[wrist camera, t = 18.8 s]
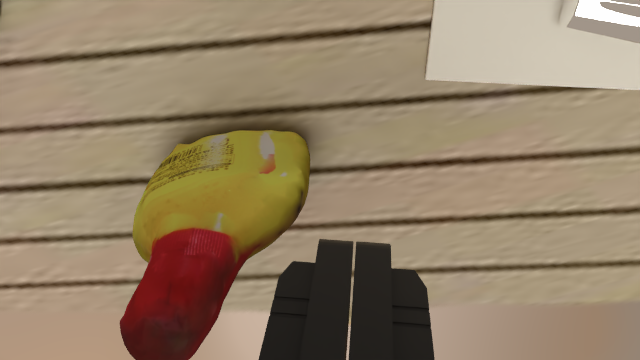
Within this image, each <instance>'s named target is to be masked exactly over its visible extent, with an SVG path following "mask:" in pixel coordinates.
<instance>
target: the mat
mask: <svg viewBox="0 0 640 360" xmlns="http://www.w3.org/2000/svg"><path fill="white" fill-rule="evenodd" d="M562 3H563V0H434V4H433V12H432V21H431V29H430V38H429V46H428V54H427V63H426V71H425V80H439V81H460V82H481V83H502V84H523V85H544V86H565V87H586V88H607V89H628V90H640V46H637V45H632V44H628V43H624V42H619V41H615V40H610V39H606V38H602V37H597V36H593V35H588V34H584V33H580V32H575V31H571V30H567V29H563V28H561V22H560V15H561V9H562Z"/></svg>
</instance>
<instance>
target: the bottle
mask: <svg viewBox="0 0 640 360" xmlns="http://www.w3.org/2000/svg"><path fill="white" fill-rule="evenodd" d="M309 173H310V154H309V150H308V146H307V143H306V141H305V140H304V139H303V138H302V137H301V136H299V135H298V134H296V133H294V132H279V131H273V130H264V131H243V130H240V131H233V132H229V133H225V134H218V135H211V136H207V137H204V138H201V139H199V140H197V141H196V142H194V143H191V144H178V145H177V146H176V147H175V149H174V150H173V151H172V152H171V154H170V155H169V156H168V157H167V158H166V159H165V160H164V161H163V162H162V163H161V165H160V166H159V168H158V169H157V170H156V172H155V173H154V175H153V176H152V178H151V180H150V181H149V183H148V185H147V187H146V189H145V191H144V194H143V196H142V198H141V200H140V202H139V204H138V207H137V210H136V213H135V217H134V225H133V240H134V243H135V246H136V248H137V250H138V252H139V254H140V256H141V257H142V258H143V259H144V260H145V261H147V262H148V266H147V269H146V271H145V273H144V276H143V278H142V280H141V282H140V284H139V285H138V287H137V289H136V291H135V292H134V294H133V296H132V298H131V300H130V302H129V304H128V306H127V308H126V311H125V314H124V316H123V317H122V319H121V320H120V329H121V335H122V338H123V341H124V344H125V346H126V348H127V350H128V351H129V353H130V354H131V355H132V356H133V357H134V358H135V359H136V360H189V359H190V358H191V357H192V356H193V355H194V354H195V352H196V351H197V350H198V348H199V347H200V345H201V343H202V342H203V340H204V339H205V337H206V336H207V335H208V333H209V332H210V330H211V328H212V327H213V325H214V323H215V322H216V320H217V318H218V315H219V313H220V310H221V307H222V304H223V301H224V299H225V297H226V296H227V294H228V292H229V290H230V287H231V285H232V283H233V281H234V279H235V277H236V275H237V274H238V272H239V270H240V269H241V267H242V266H243V264H244V263H245V261H246V260H247V259H249V258H250V257H252V256H253V255H255V254H256V253H258V252H260V251H261V250H263V249H265V248H266V247H268V246H269V245H270V244H272V243H273V242H274V241H275V240H276V239H277V238H278V237H280V236H281V235H282V234H283V233H284V232H285V231H286V230H287V229H288V228H289V227H290V226H291V225H292V224H293V222H294V221H295V220H296V218H297V217H298V215H299V213H300V211H301V210H302V208H303V206H304V204H305V200H306V197H307V193H308V186H309Z"/></svg>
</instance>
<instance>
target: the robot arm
mask: <svg viewBox="0 0 640 360" xmlns="http://www.w3.org/2000/svg"><path fill="white" fill-rule="evenodd" d="M352 257H353V241H340V240H326V239H320V240H319V244H318V250H317V256H316V262H315V263H310V262H296V261H293V262H292V263H291V264H290V265H289V266H288V267H287V269H286V270H285V271H284V272H283V273H282V274H281V275H280V276H279V279H278V283H277V287H276V291H275V295H274V300H273V303H272V307H271V312H270V316H269V320H268V324H267V328H266V332H265V336H264V340H263V344H262V348H261V352H260V356H259V360H346V351H347V337H348V323H349V308H350V291H351V274H352ZM350 333H351V334H350V349H349V360H434V351H433V341H432V332H431V323H430V313H429V304H428V295H427V288H426V286H425V285H424V283H423V282H422V280H421V279H420V277H419V276H418V274H417V273H416V271H415V270H406V269H392V268H391V245H390V244H384V243H370V242H356V255H355V271H354V286H353V302H352V317H351V332H350Z"/></svg>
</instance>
